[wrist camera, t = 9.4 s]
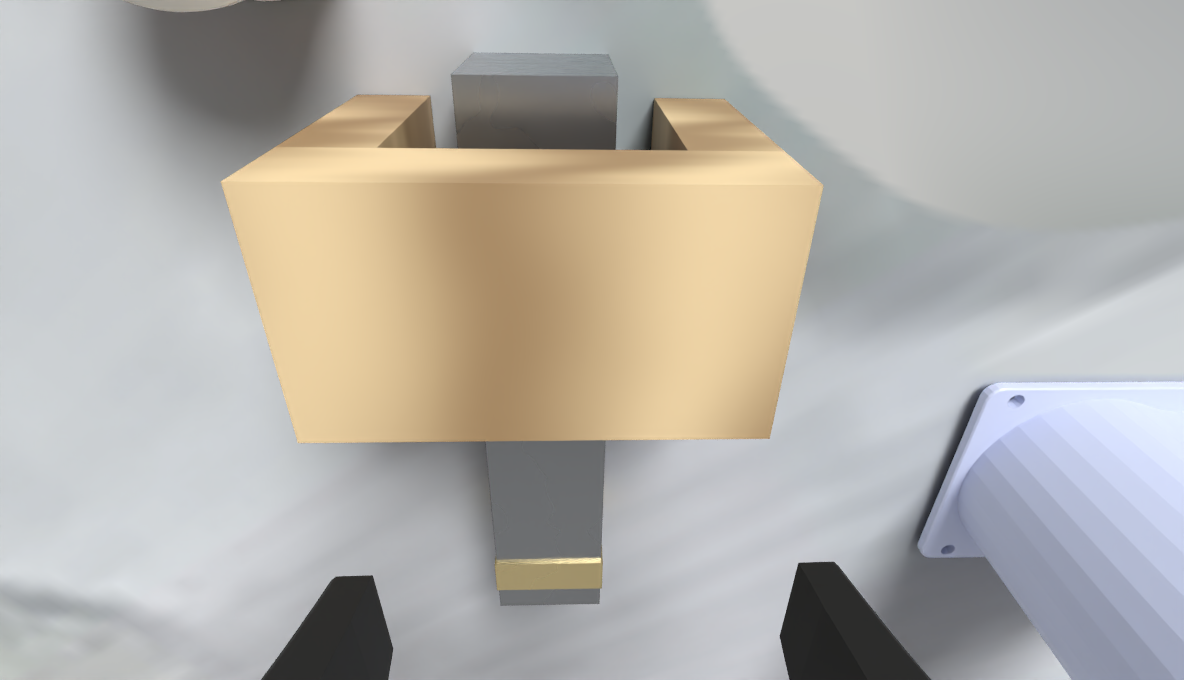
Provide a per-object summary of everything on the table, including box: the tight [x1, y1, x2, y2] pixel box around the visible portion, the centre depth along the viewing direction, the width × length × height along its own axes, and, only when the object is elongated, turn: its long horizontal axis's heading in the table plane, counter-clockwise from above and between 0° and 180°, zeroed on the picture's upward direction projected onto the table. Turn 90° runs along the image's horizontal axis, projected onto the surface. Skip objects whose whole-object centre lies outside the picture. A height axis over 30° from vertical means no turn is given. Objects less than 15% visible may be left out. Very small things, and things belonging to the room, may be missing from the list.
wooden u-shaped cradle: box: [221, 95, 824, 443], centre depth 14 cm, size 9×5×7 cm, turn 89°
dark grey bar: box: [451, 53, 618, 606], centre depth 18 cm, size 3×16×4 cm, turn 179°
